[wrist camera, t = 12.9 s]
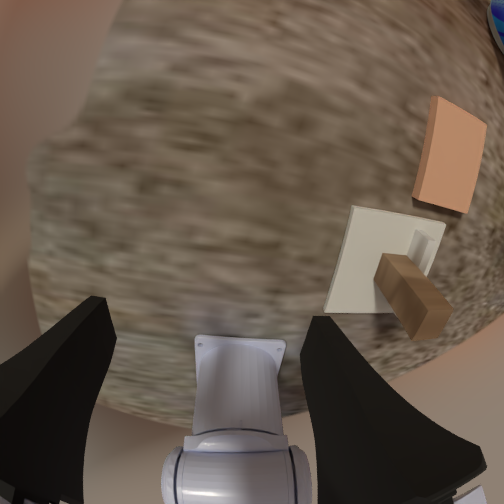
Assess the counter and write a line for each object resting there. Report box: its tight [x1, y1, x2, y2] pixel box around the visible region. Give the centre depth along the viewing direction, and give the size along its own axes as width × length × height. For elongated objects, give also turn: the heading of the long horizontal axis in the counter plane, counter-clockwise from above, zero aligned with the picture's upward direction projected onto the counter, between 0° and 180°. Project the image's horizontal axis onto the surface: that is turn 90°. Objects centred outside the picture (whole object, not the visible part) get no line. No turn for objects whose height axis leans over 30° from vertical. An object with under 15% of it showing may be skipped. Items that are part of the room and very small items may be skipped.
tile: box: [412, 96, 487, 214], centre depth 16 cm, size 8×1×6 cm
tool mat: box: [323, 205, 446, 313], centre depth 20 cm, size 9×9×1 cm
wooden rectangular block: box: [373, 229, 454, 341], centre depth 17 cm, size 7×3×7 cm, turn 174°
